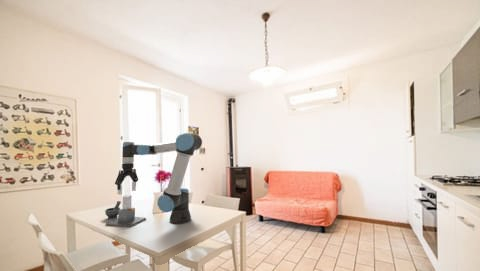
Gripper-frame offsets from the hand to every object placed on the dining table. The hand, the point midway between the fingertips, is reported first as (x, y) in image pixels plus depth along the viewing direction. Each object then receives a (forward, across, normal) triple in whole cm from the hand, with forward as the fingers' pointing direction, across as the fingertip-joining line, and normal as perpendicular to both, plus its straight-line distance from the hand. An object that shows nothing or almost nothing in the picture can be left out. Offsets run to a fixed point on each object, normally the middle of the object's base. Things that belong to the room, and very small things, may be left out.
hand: (126, 192), depth 154 cm
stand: (+21, 0, 0) cm, 21 cm away
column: (+19, 0, 0) cm, 19 cm away
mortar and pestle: (+22, -7, -18) cm, 29 cm away
